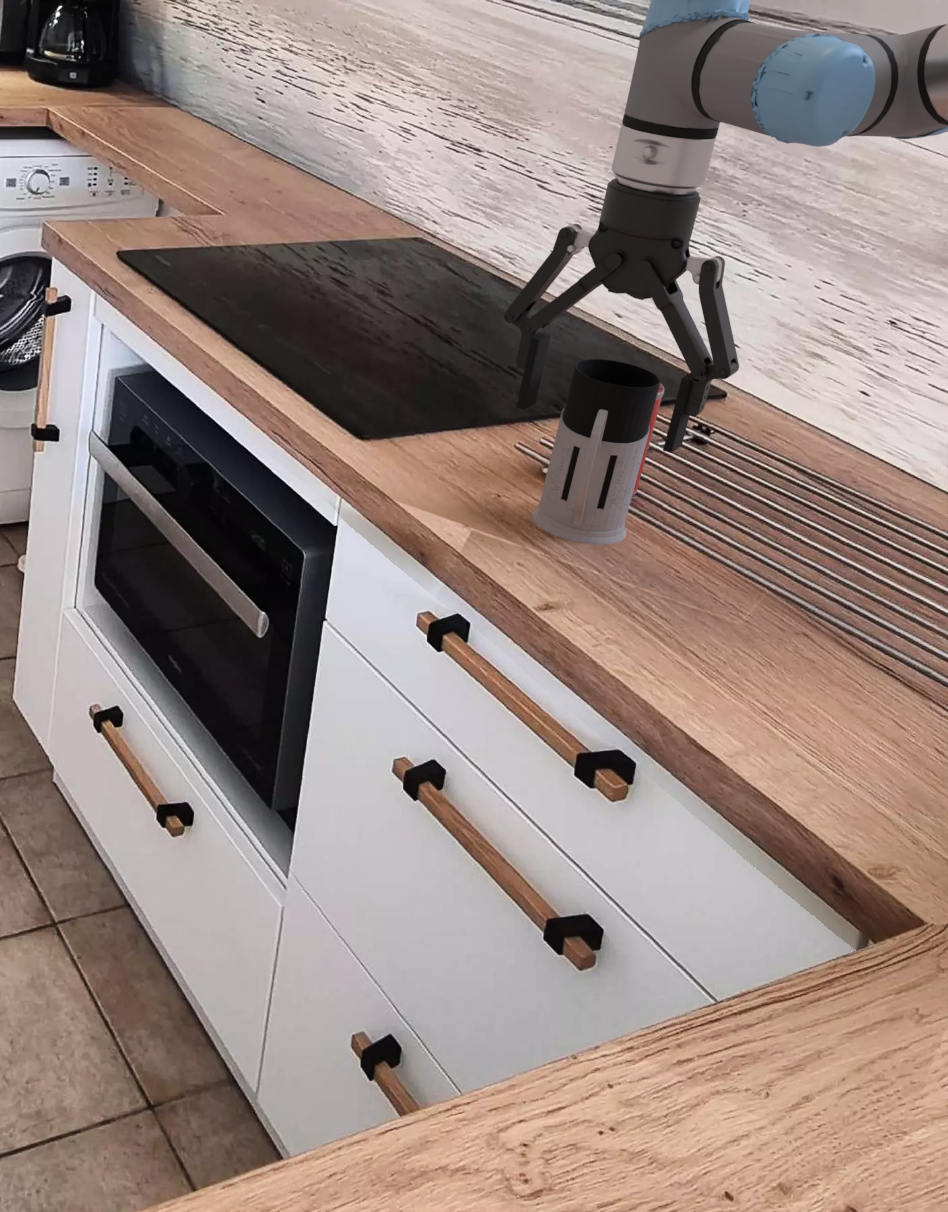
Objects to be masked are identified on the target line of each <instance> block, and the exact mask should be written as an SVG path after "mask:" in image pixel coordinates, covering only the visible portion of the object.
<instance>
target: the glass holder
mask: <svg viewBox="0 0 948 1212" xmlns="http://www.w3.org/2000/svg"><path fill="white" fill-rule="evenodd" d="M660 384H661V378H660V377H659V376H658V375H657V374H655V373H654V372H652V371H651V370H648V369H646V368H643V367H641V366H638V365H635V364H632V363H628V362H623V361H618V360H613V359H603V358H588V359H587V358H586V359H582V360H579V361H577V362H576V363H575V364H574V368H573V372H572V376H571V379H570V384H569V388H568V391H567V392H568V393H567V396H566V401H565V405H564V407H563V408H562V410H561V413H560V417H559V421H558V425H557V429H556V434H555V438H554V441H553V447H552V450H551V454H550V458H549V463H548V466H547V470H546V475H545V480H544V483H543V487H542V492H541V496H540V500H539V503H538V505H537V507H536V508H535V509H534V511H533V512H532V513H531V519H532V520H533V522H534V524H535V525H537V526H538V527H539V528H541V529H542V530H543V531H546V533H548V534H551V535H553V536H555V537H558V538H561V539H563V540H566V541H570V542H575V543H578V544H579V543H580V544H584V545H595V546H605V545H614V544H618V543H620V542H622V541H624V540H625V539H626V537H627V530H626V519H627V517H628V512H629V509H630V507H631V506H630V505H631V502H632V494H633V491H634V487H635V483H636V480H637V476H638V472H639V468H640V465H641V461H642V457H643V454H644V450H645V446H646V442H647V439H648V435H649V431H650V427H649V423H650V420H651V416H652V412H653V409H654V405H655V401H656V397H657V394H658V390H659V386H660Z"/></svg>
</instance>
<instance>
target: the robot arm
mask: <svg viewBox="0 0 948 1212" xmlns="http://www.w3.org/2000/svg"><path fill="white" fill-rule="evenodd" d="M750 4H751V0H650V2H649V6H648V9H647V12H646V16H645V19H644V22H643V25H642V29H641V31H640V32H639V37H638V38H639V42H638V48H637V53H636V58H635V62H634V63H635V64H634V67H633V73H632V76H631V81H630V86H629V90H628V95H627V99H626V104H625V109H624V114H623V117H622V121H621V124H620V129H619V133H618V137H617V143H616V147H615V152H614V156H613V160H612V165H611V169H610V170H611V171H612V173H613V174H614V175H615V176H616V177H615V178H612V179H611V180H610V181H609V182H607V186H606V190H605V195H604V199H603V204H602V208H601V212H600V216H599V221H598V226H597V229H596V231H595V232H594V233H592V232H589V231H587V230H585V229H583V228H582V226H581V225H580V224H578V223H572V224H569V225H567V226H564V227H562V228H560V229H559V231H558V233H557V236H556V238H555V242H554V244H553V248H552V251H551V252H550V253H549V254H548V256H547V257H546V259H545V260H544V261H543V262H542V264H541V265H540V266H539V268H538V269H537V270H536V271H535V273H534V274H533V276H532V277H531V278H530V279H529V281H527V283H526V284H525V286H524V287H523V288H522V290H520V292H519V294H518V295H516V298H515V299H514V300H513V301H512V303H511V304H510V305H509V306H508V308H507V309H506V310H505V312H504V314H503V318H504V321H505V322H507V323H509V324H513V325H514V326H516V327H517V328H518V329H519V330H520V334H521V335H520V340H519V345H518V351H517V356H516V360H515V362H516V363H515V364H516V368H517V369H521V370H523V374H522V380H521V384H520V389H519V393H518V396H517V397H518V398H517V402H516V409H519V410H526V409H528V408H530V407H532V406H534V405H535V404H537V401H538V395H539V391H540V387H541V382H542V377H543V373H544V368H545V364H546V359H547V356H548V351H549V347H550V341H551V336H552V333H548V332H545V331H542V330H543V329H545V328H546V327H547V326H548V325H549V324H551V323H552V322H554V321H555V320H556V319H558V318H559V317H560V316H562V315H563V314H564V313H566V312H567V311H568V310H569V309H571V308H572V307H573V306H575V305H576V304H577V303H579V302H580V301H581V300H583V299H584V298H585V297H586V296H588V295H589V294H591V293H592V292H593V291H594V290H596V289H597V288H598V287H600V286H602V285H603V287H604V288H605V289H607V292H608V293H612V294H618V295H619V294H620V295H621V294H626V295H628V296H630V297H631V298H633V299H637V300H640V301H644V300H648V299H652V301H653V303H654V305H655V307H656V309H657V310H659V311H660V312H661V314H662V317H663V318H664V321H665V323H666V325H667V327H668V329H669V331H670V333H671V335H672V337H673V339H674V341H675V343H676V346H677V347H678V349H679V351H680V353H681V355H682V357H683V359H684V361H685V364H686V365H687V366H686V367H688V370H689V371H690V372H689V373H687V374H686V375H685V376H683V377H682V378H681V379H680V383H679V387H678V391H677V395H676V399H675V403H674V407H673V411H672V415H671V418H670V422H669V425H668V430H667V433H666V437H665V441H664V444H663V448H662V451H663V452H666V453H670V454H672V453H673V452H675V451H676V450H678V449H680V448H681V447H682V446H683V442H684V439H685V435H686V431H687V428H688V424H689V419H690V417H694V418H696V417H697V416H699V415H700V414H701V413H702V412H703V411H704V409H705V406H706V402H707V399H708V396H709V391H710V388H711V384H712V381H713V380H719V379H720V380H726V379H728V378H730V377H732V376H733V375H734V374H736V373H737V372H738V371H739V369H740V363H739V359H738V353H737V349H736V344H735V339H734V335H733V331H732V325H731V320H730V316H729V310H728V305H727V302H726V297H725V292H724V288H723V280H724V273H725V267H726V260H725V258H723V256H720V255H715V256H713V257H710V258H709V257H699V256H691V252H690V241H691V238H692V234H693V231H694V227H695V223H696V219H697V215H698V211H699V207H700V203H701V199H702V197H701V196H700V193H699V192H698V191H697V190H696V189H698V188H701V187H702V186H704V185H705V184H706V180H707V176H708V172H709V168H710V163H711V159H712V155H713V151H714V147H715V142H716V138H717V135H718V132H719V129H720V124H721V123H723V124H726V125H729V126H733V127H737V128H740V129H744V130H748V131H751V132H754V133H757V134H760V135H764V136H767V137H771V138H775V139H776V141H778V142H782V143H784V144H787V145H788V144H800V145H806V146H809V147H810V146H811V147H815V148H817V147H818V148H819V147H829V146H832V145H834V144H835V143H838V141H840V140H841V139H842V138H845V137H849V138H850V137H883V138H885V137H887V138H895V139H898V140H910V139H920V138H921V139H922V138H928V137H933V136H939V135H941V134H945V133H947V132H948V23H945V24H939V25H935V26H930V27H927V28H923V29H918V30H915V31H911V32H906V33H902V34H891V35H888V34H887V35H886V34H883V35H882V34H869V33H849V32H848V33H847V32H846V33H845V32H832V31H831V32H830V31H811V30H798V29H791V28H785V27H780V26H779V27H778V26H772V25H768V24H761V23H756V22H754V21H751V20H749V19H750V16H749V10H750ZM585 248H587V249H588V253H589V254H590V257H591V259H592V262H593V265H594V267H593V268H591V270H589V271H587V273H585V274H584V275H582V276H581V277H580V278H578V280H577V281H576V282H575V283H573V284H572V285H571V286H570V287H568V288H567V289H565V291H563V292H562V293H561V294H559V295H558V296H556V297H555V298H554V299H552V300H551V301H550V302H549V303H547V304H546V305H545V306H544V307H542V308H541V309H539V310H538V311H537V312H536V313H534V314H533V313H532V312H531V311H532V309H533V308H534V307H535V306H536V305H537V303H538V301H539V300H540V299H542V297H543V296H544V294H545V293H546V292H547V291H548V289H550V286H552V284H553V283H554V282H555V280H556V279H557V277H559V275H560V274H561V273H562V271H564V269H565V267H566V266H567V265H568V264H569V262H570V261H571V260H572V258H573V256H574V255H577V254H580V253H582V252H583V250H584V249H585ZM687 271H688V272H689V273H690V274H691V277H692V281H693V283H694V284H696V285H698V296H699V301H700V306H701V311H702V315H703V320H704V326H705V328H706V329H705V330H706V334H707V339H708V340H707V341H708V344H709V348H710V351H709V350H708V347H707V346H706V343H705V341H704V339H703V337H702V335H701V333H700V331H699V330H698V329H699V328H698V327H697V325H696V323H695V321H694V318H693V317H692V315H691V313H690V310H689V309H688V307H687V305H686V303H685V301H684V294H683V292H682V289H681V287H680V284H678V281H677V280H678V279H679V278H680V277H681V276H682V275H683V274H685V273H686V272H687Z"/></svg>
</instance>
